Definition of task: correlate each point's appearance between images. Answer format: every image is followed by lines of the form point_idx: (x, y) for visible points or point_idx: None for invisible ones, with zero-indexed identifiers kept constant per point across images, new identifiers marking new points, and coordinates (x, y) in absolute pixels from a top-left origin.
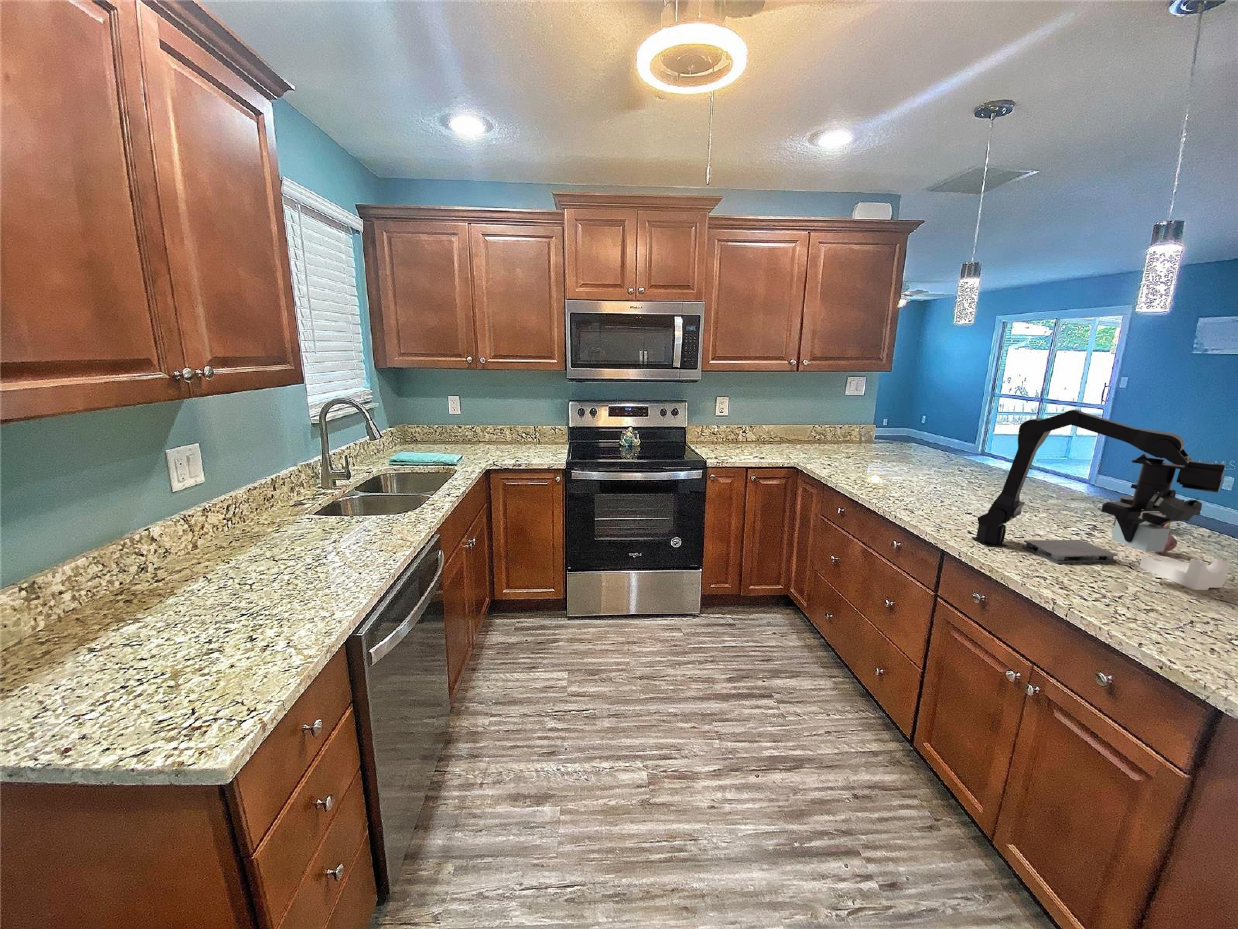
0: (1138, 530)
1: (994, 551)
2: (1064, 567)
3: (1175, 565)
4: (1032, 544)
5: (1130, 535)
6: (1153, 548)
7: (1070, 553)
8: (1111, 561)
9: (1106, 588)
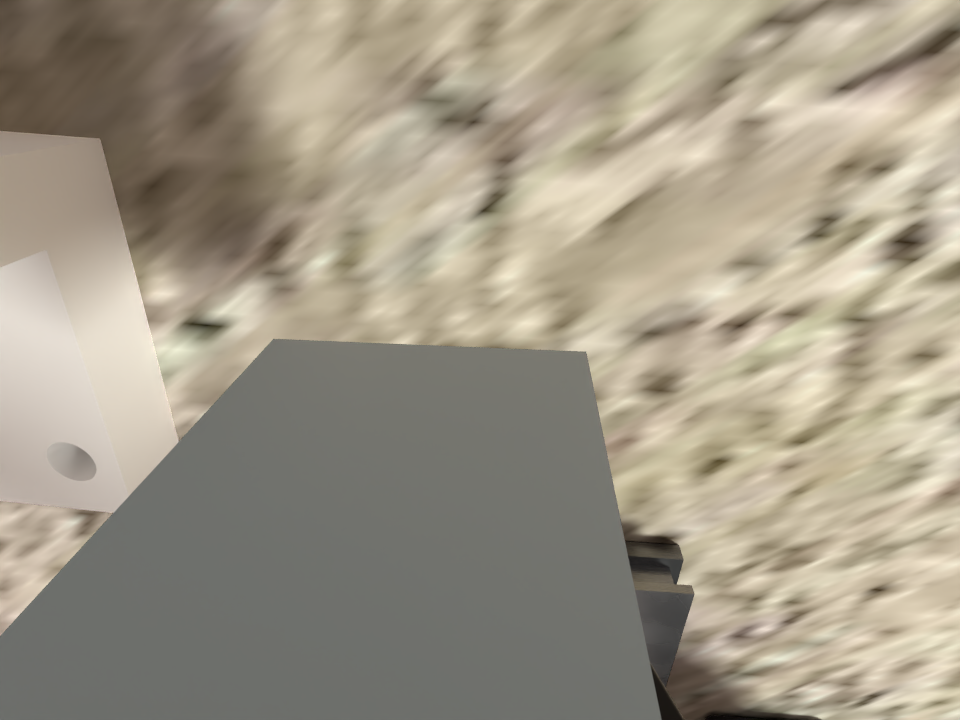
0: None
1: (862, 685)
2: (691, 504)
3: (14, 379)
4: None
5: (656, 675)
6: (451, 375)
7: None
8: None
9: (808, 215)
